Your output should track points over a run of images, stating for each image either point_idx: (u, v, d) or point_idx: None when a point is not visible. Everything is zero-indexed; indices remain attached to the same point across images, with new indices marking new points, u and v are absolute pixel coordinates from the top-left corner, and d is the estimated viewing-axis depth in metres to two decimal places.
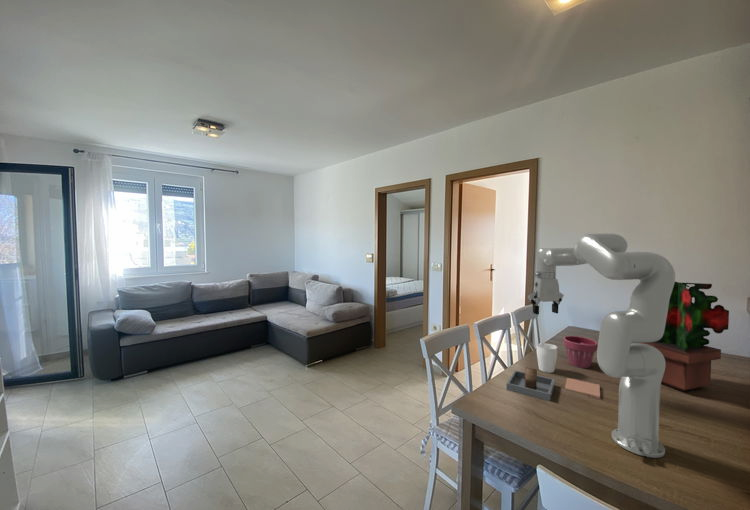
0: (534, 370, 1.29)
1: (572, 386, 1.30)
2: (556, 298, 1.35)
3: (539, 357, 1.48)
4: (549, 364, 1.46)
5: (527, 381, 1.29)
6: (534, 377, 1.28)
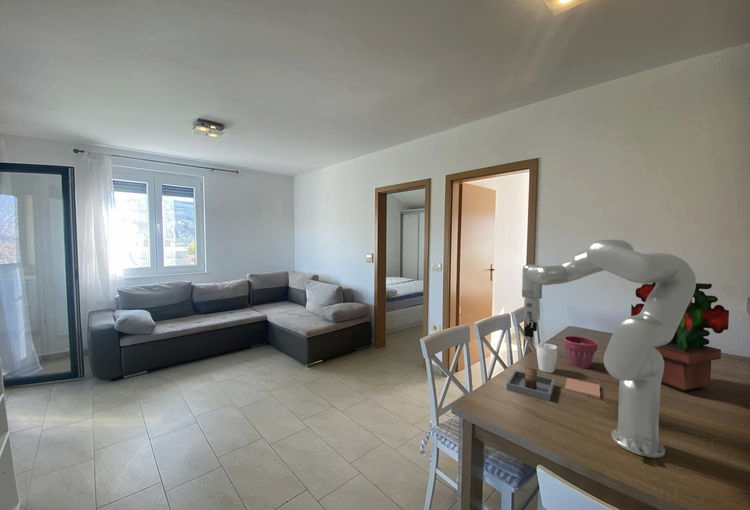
0: (534, 370, 1.29)
1: (572, 386, 1.30)
2: (539, 316, 1.30)
3: (539, 357, 1.48)
4: (549, 364, 1.46)
5: (527, 381, 1.29)
6: (534, 377, 1.28)
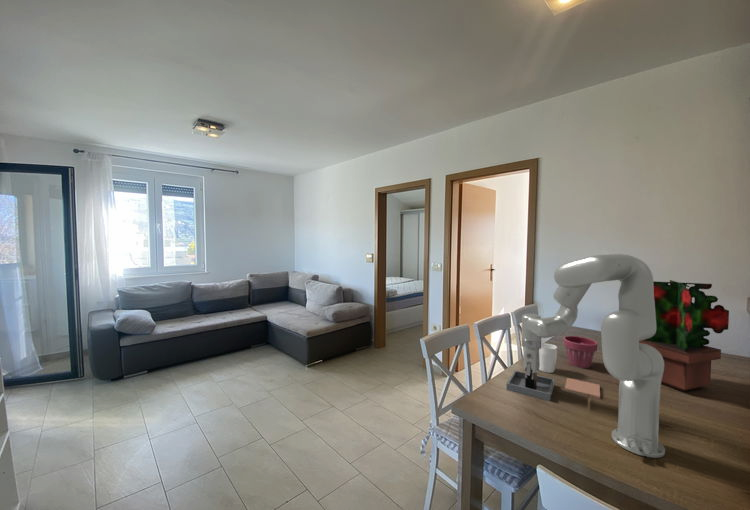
0: None
1: (572, 386, 1.30)
2: (539, 365, 1.31)
3: (539, 357, 1.48)
4: (549, 364, 1.46)
5: None
6: (534, 377, 1.28)
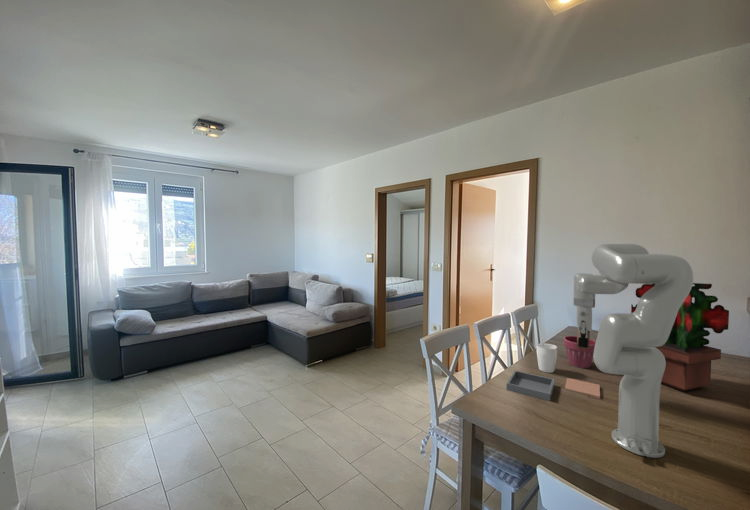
0: None
1: (572, 386, 1.30)
2: None
3: (539, 357, 1.48)
4: (549, 364, 1.46)
5: None
6: (587, 336, 1.27)
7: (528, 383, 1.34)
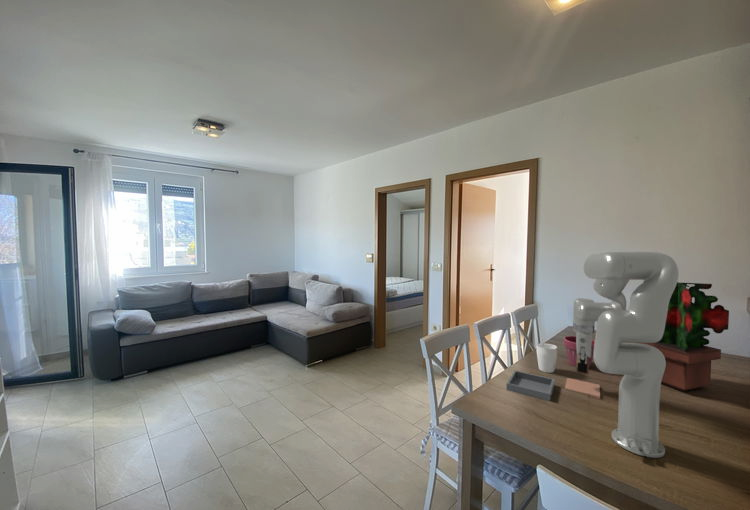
0: None
1: (572, 386, 1.30)
2: None
3: (539, 357, 1.48)
4: (549, 364, 1.46)
5: None
6: (587, 361, 1.28)
7: (528, 383, 1.34)
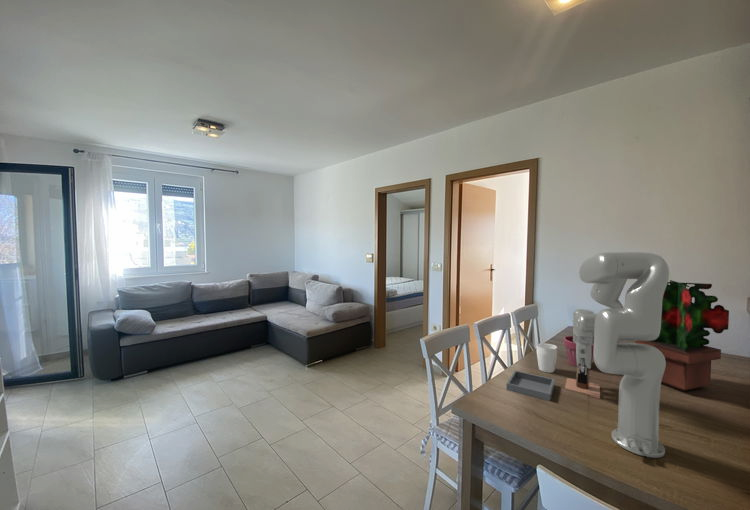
0: None
1: (572, 386, 1.30)
2: None
3: (539, 357, 1.48)
4: (549, 364, 1.46)
5: None
6: (587, 376, 1.28)
7: (528, 383, 1.34)
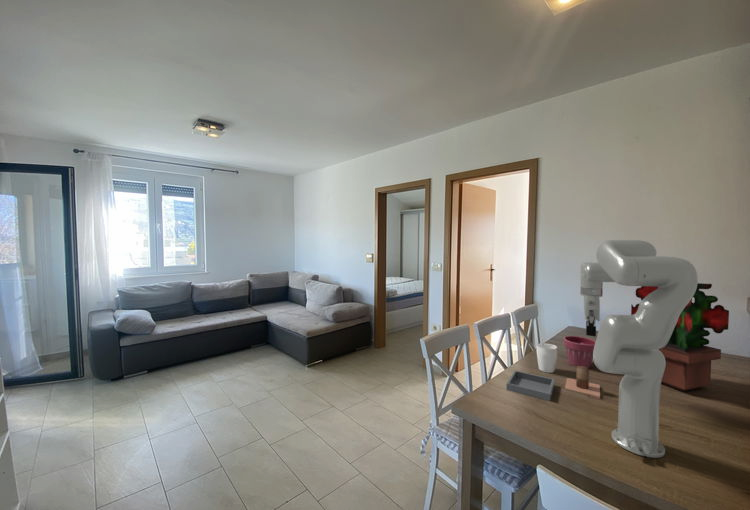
0: (586, 369, 1.29)
1: (572, 386, 1.30)
2: None
3: (539, 357, 1.48)
4: (549, 364, 1.46)
5: (579, 380, 1.29)
6: (587, 376, 1.28)
7: (528, 383, 1.34)
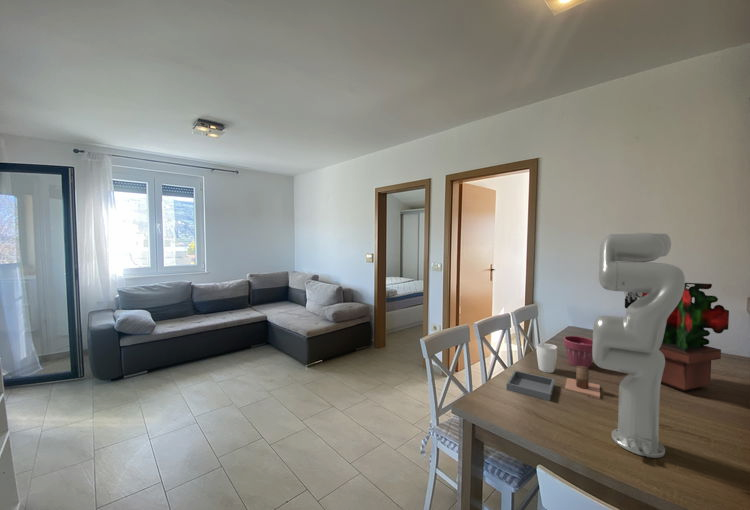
0: (586, 369, 1.29)
1: (572, 386, 1.30)
2: None
3: (539, 357, 1.48)
4: (549, 364, 1.46)
5: (579, 380, 1.29)
6: (586, 376, 1.28)
7: (528, 383, 1.34)
